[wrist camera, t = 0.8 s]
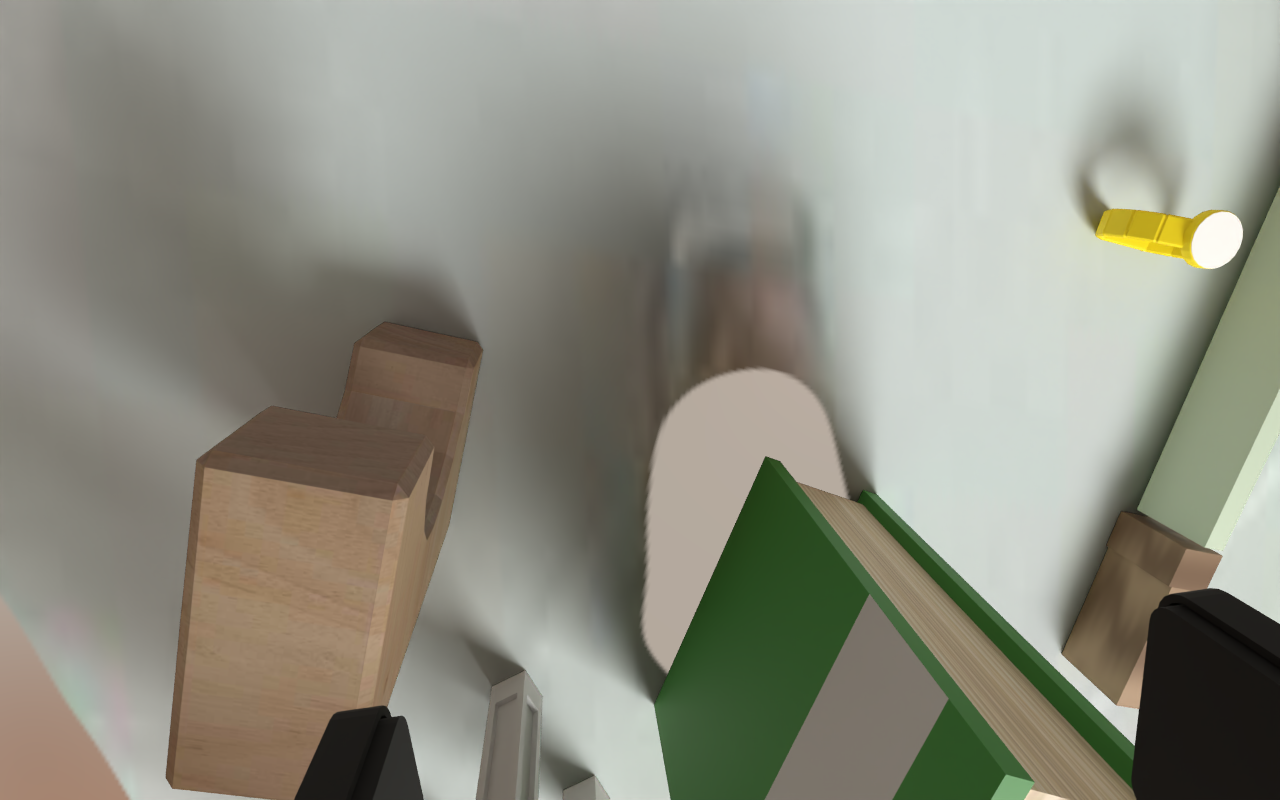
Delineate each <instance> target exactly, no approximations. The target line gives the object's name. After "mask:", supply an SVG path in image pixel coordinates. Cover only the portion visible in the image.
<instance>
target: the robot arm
mask: <svg viewBox="0 0 1280 800" xmlns="http://www.w3.org/2000/svg"><path fill="white" fill-rule="evenodd" d="M1131 784H1132V788H1133V792H1134V795H1135V797H1136V799H1137V800H1280V624H1279V623H1277V622H1275V621H1274V620H1272V619H1270V618H1269V617H1267V616H1265V615H1264V614H1262V613H1260V612H1259V611H1257V610H1255V609H1254V608H1252V607H1250V606H1249V605H1247V604H1245V603H1244V602H1242V601H1240V600H1239V599H1237V598H1235V597H1234V596H1232V595H1230V594H1229V593H1227V592H1224V591H1222V590H1220V589H1212V588H1209V589H1201V590H1194V591H1187V592H1180V593H1173V594H1169V595H1167V596H1164V597H1163V599H1162V600H1161V601H1160V602H1159V606H1158V608H1157V609H1155V610H1154V611H1153V612H1152V613H1151V616H1150V620H1149V628H1148V637H1147V646H1146V654H1145V663H1144V672H1143V680H1142V689H1141V698H1140V706H1139V715H1138V723H1137V732H1136V741H1135V749H1134V758H1133V767H1132V775H1131ZM294 800H424V799H423V794H422V790H421V785H420V780H419V776H418V771H417V766H416V762H415V757H414V752H413V748H412V743H411V738H410V734H409V729H408V725H407V721H406V719H405V717H403V716H397V717H391V714H390V711H389V710H388V708H387V707H386V706H384V705H382V706H375V707H368V708H361V709H354V710H346V711H339V712H336V713H335V714H333V716H332V717H331V719H330V720H329V723H328V725H327V727H326V729H325V731H324V734H323V736H322V738H321V740H320V743H319V745H318V747H317V749H316V752H315V754H314V756H313V758H312V760H311V763H310V765H309V767H308V769H307V772H306V774H305V776H304V778H303V781H302V783H301V785H300V787H299V789H298V792H297V794H296V796H295V798H294Z"/></svg>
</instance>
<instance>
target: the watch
mask: <svg viewBox="0 0 1280 800" xmlns="http://www.w3.org/2000/svg"><path fill="white" fill-rule="evenodd" d="M1095 235H1096V237H1098V238H1099V239H1101V240H1105V241H1109V242H1112V243H1116V244H1120V245H1124V246H1127V247H1131V248H1135V249H1139V250H1140V251H1145V252H1150V253H1155V254H1160V255H1165V256H1172V257H1176V258H1183V259H1184V260H1185V261H1186V262H1187V263H1188V264H1189V265H1191V266H1193V267H1197V268H1204V269H1214V268H1218V267H1221V266H1223V265H1224V264H1226V263H1228V262H1229V261H1230V260H1231V259H1232V258H1233V257H1234V256H1235V255H1236V253H1237V251H1238V249H1239V248H1240V245H1241V242H1242V239H1243V228H1242V225H1241V222H1240V220H1239V219H1238V217H1237V216H1236V215H1235V214H1233V213H1231V212H1229V211H1224V210H1208V211H1205V212H1202V213H1200V214H1198V215H1197V216H1195V217H1194V218H1193V219H1191V218H1185V217H1180V216H1175V215H1170V214H1169V215H1166V214H1164V213H1156V212H1149V211H1141V210H1131V209H1111V210H1106V211H1104V213H1103V215H1102V218H1101V221H1100V223H1099V226H1098V228H1097V231H1096V234H1095Z"/></svg>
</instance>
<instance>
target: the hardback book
mask: <svg viewBox="0 0 1280 800" xmlns="http://www.w3.org/2000/svg"><path fill="white" fill-rule="evenodd" d="M654 707H655V713H656V718H657V724H658V730H659V736H660V741H661V747H662V753H663V758H664V764H665V770H666V775H667V781H668V787H669V792H670V798H671V800H1137V799H1136V797H1135V795H1134V792H1133V788H1132V784H1131V775H1132V767H1133V758H1134V749H1135V746H1134V745H1133V744H1132V743H1131V742H1130V741H1129V740H1128V739H1127V738H1126V737H1125V736H1124V735H1123V734H1122V733H1121V732H1120V731H1119V730H1118V729H1117V728H1116V727H1115V726H1114V725H1112V724H1111V723H1110V722H1109V721H1108V720H1107V719H1106V718H1105V717H1104V716H1103V715H1102V714H1101V713H1100V712H1099V711H1098V710H1097V709H1096V708H1095V707H1094V706H1093V705H1092V704H1091V703H1090V702H1089V701H1088V700H1087V699H1086V698H1085V697H1084V696H1083V695H1082V694H1081V693H1080V692H1079V691H1078V690H1077V689H1076V688H1075V687H1074V686H1073V685H1071V684H1070V683H1069V682H1068V681H1067V680H1066V679H1065V678H1064V677H1063V676H1062V675H1061V674H1060V673H1059V672H1058V671H1057V670H1056V669H1055V668H1054V667H1053V666H1052V665H1051V664H1050V663H1049V662H1048V661H1047V660H1046V659H1045V658H1044V657H1043V656H1042V655H1041V654H1040V653H1039V652H1038V651H1037V650H1036V649H1035V648H1034V647H1033V646H1032V645H1030V644H1029V643H1028V642H1027V641H1026V640H1025V639H1024V638H1023V637H1022V636H1021V635H1020V634H1019V633H1018V632H1017V631H1016V630H1015V629H1014V628H1013V627H1012V626H1011V625H1010V624H1009V623H1008V622H1007V621H1006V620H1005V619H1004V618H1003V617H1002V616H1001V615H1000V614H999V613H998V612H997V611H996V610H995V609H994V608H993V607H992V606H991V605H990V604H988V603H987V602H986V601H985V600H984V599H983V598H982V597H981V596H980V595H979V594H978V593H977V592H976V591H975V590H974V589H973V588H972V587H971V586H970V585H969V584H968V583H967V582H966V581H965V580H964V579H963V578H962V577H961V576H960V575H959V574H958V573H957V572H956V571H955V570H954V569H953V568H952V567H951V566H950V565H949V564H947V563H946V562H945V561H944V560H943V559H942V558H941V557H940V556H939V555H938V554H937V553H936V552H935V551H934V550H933V549H932V548H931V547H930V546H929V545H928V544H927V543H926V542H925V541H924V540H923V539H922V538H921V537H920V536H919V535H918V534H917V533H916V532H915V531H914V530H913V529H912V528H911V527H910V526H909V525H908V524H906V523H905V522H904V521H903V520H902V519H901V518H900V517H899V516H898V515H897V514H896V513H895V512H894V511H893V510H892V509H891V508H890V507H889V506H888V505H887V504H886V503H885V502H884V501H883V500H882V499H881V498H880V497H879V496H878V495H877V494H874V493H871V492H868V491H865V490H863V491H862V493H861V495H860V497H859V499H858V502H854V501H851V500H848V499H845V498H842V497H840V496H837V495H834V494H830V493H828V492H825V491H822V490H819V489H816V488H813V487H810V486H807V485H804V484H801V483H798V482H796V481H795V480H794V478H793V477H792V476H791V475H790V474H789V472H788V471H787V470H786V468H785V467H784V466H783V465H782V463H781V462H780V461H778V460H775V459H772V458H769V457H765V459H764V461H763V463H762V465H761V468H760V470H759V472H758V474H757V477H756V479H755V481H754V483H753V486H752V488H751V490H750V492H749V495H748V497H747V499H746V501H745V503H744V506H743V508H742V510H741V512H740V514H739V517H738V519H737V521H736V523H735V526H734V528H733V530H732V532H731V535H730V537H729V539H728V541H727V543H726V546H725V548H724V550H723V552H722V555H721V557H720V559H719V561H718V564H717V566H716V568H715V570H714V572H713V575H712V577H711V579H710V581H709V583H708V586H707V588H706V590H705V592H704V595H703V597H702V599H701V601H700V604H699V606H698V608H697V610H696V612H695V615H694V617H693V619H692V621H691V624H690V626H689V628H688V630H687V633H686V635H685V637H684V639H683V641H682V644H681V646H680V648H679V650H678V653H677V655H676V657H675V659H674V661H673V664H672V666H671V668H670V670H669V673H668V675H667V677H666V679H665V682H664V684H663V686H662V688H661V690H660V693H659V695H658V697H657V699H656V702H655V704H654Z"/></svg>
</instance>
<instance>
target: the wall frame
mask: <svg viewBox="0 0 1280 800" xmlns="http://www.w3.org/2000/svg"><path fill="white" fill-rule="evenodd" d="M1106 546H1108V549H1107V552H1106V554H1105V556H1104V559H1103V561H1102V563H1101V565H1100V568H1099V570H1098V572H1097V575H1096V577H1095V579H1094V581H1093V584H1092V586H1091V588H1090V591H1089V593H1088V595H1087V597H1086V600H1085V602H1084V604H1083V607H1082V609H1081V611H1080V613H1079V616H1078V618H1077V620H1076V623H1075V625H1074V627H1073V629H1072V632H1071V634H1070V636H1069V639H1068V641H1067V643H1066V645H1065V648H1064V650H1063V652H1062V655H1063V656H1064V657H1065V658H1066V659H1067V660H1068V661H1069V662H1070V663H1072V664H1073V665H1074V666H1075V667H1076V668H1077V669H1078V670H1079V671H1080V672H1081V673H1082V674H1083V675H1084V676H1085V677H1087V678H1088V679H1089V680H1090V681H1091V682H1092V683H1093V684H1094V685H1095V686H1096V687H1097V688H1098V689H1099V690H1100V691H1102V692H1103V693H1104V694H1105V695H1106V696H1107V697H1108V698H1109V699H1110V700H1111V701H1112V702H1113V703H1114V704H1115V705H1117V706H1123V707H1130V708H1137V709H1139V706H1140V698H1141V689H1142V680H1143V672H1144V663H1145V654H1146V646H1147V637H1148V628H1149V620H1150V616H1151V613H1152V612H1153V611H1154V610H1155V609H1157V608H1158V606H1159V602H1160V601H1161V600H1162V599H1163V597H1164V596H1167V595H1169V594H1173V593H1180V592H1187V591H1194V590H1201V589H1207V587H1208V585H1209V583H1210V581H1211V579H1212V577H1213V575H1214V573H1215V571H1216V569H1217V567H1218V565H1219V562H1220V560H1221V558H1222V555H1220V554H1218V553H1217V552H1215V551H1213V550H1211V549H1209V548H1204V547H1203V546H1201V545H1199V544H1197V543H1195V542H1194V541H1192V540H1190V539H1188V538H1187V537H1185V536H1183V535H1181V534H1179V533H1178V532H1176V531H1174V530H1172V529H1170V528H1169V527H1167V526H1165V525H1163V524H1161V523H1160V522H1158V521H1156V520H1154V519H1153V518H1151V517H1148V516H1143V515H1138V514H1133V513H1128V512H1123V511H1121V513H1120V515H1119V517H1118V520H1117V522H1116V524H1115V526H1114V529H1113V531H1112V533H1111V536H1110V538H1109V540H1108V543H1107V545H1106Z"/></svg>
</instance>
